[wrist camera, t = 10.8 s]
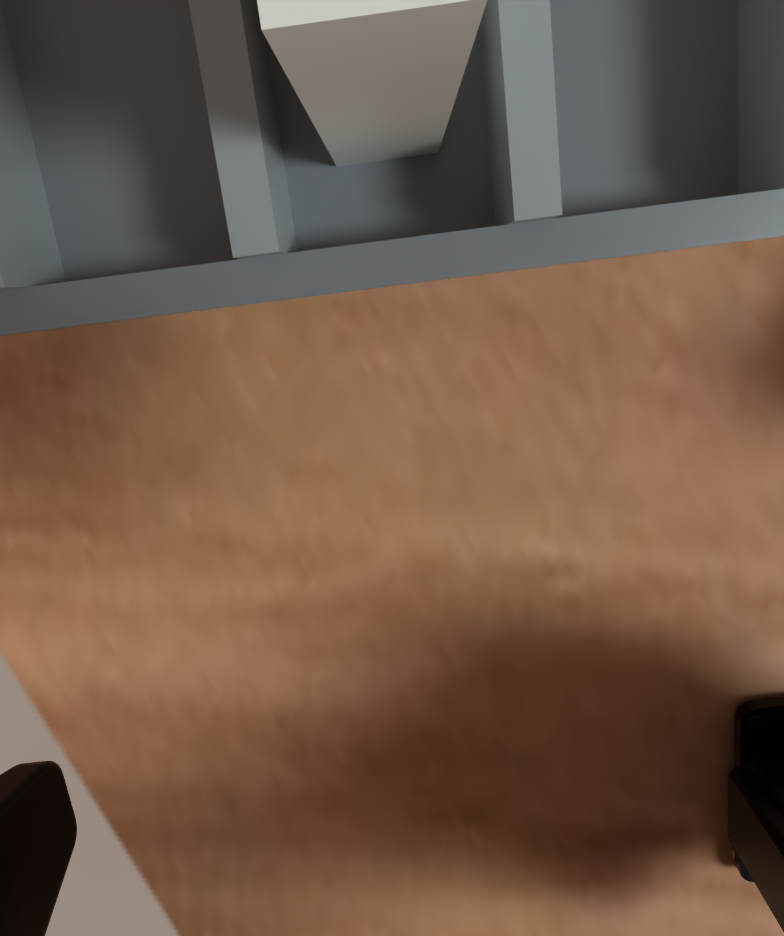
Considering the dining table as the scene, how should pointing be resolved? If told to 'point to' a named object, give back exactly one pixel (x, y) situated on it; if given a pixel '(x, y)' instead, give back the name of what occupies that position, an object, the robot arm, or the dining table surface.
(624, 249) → the rack
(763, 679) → the dining table surface
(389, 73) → the white rectangular block
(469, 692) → the dining table surface
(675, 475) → the dining table surface
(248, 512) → the dining table surface
